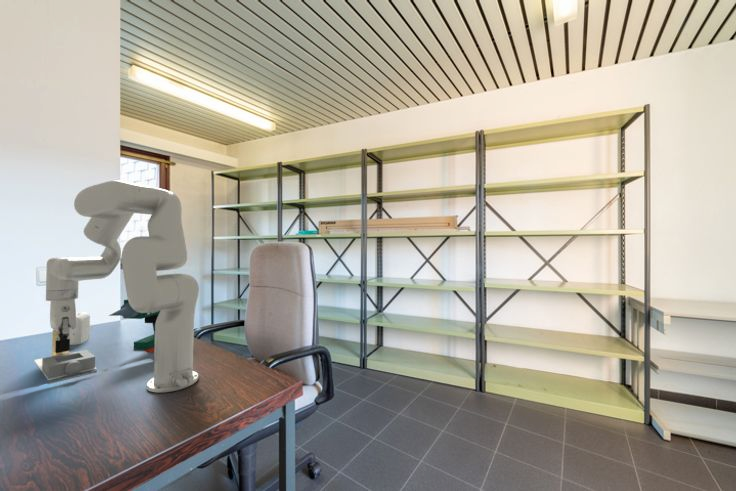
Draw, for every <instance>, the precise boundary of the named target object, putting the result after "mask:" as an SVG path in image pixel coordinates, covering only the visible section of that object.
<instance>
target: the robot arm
mask: <svg viewBox="0 0 736 491" xmlns="http://www.w3.org/2000/svg"><path fill="white" fill-rule="evenodd" d="M74 198H75V199H74V201H73V202H74V203H73V204H74V205H73V206H74V210H75V212H76V213H78V214H79V215H80V216H82V217H88V218H89V220H88V222H87V224H86V225H85V226H84V228H83V234H84V236H85V237H86V238H87V239H88V240H90V241H92V242H94V243H95V244H97V245H100V246H103V247H105V248H104V250H103V252H102V253H101V255H99V256H86V257H85V256H84V257H83V256H82V257H65V256H64V257H52V258H49V259H47V261H46V279H45V301H46V302H50V306H49V308H50V309H49V326H50V328H51V329H52V331H53V330H55V331H57V340H56V347H55V352H56V353H60V352H65V351H69V352H70V346H71V345H70V335H69V327H71V328H72V329H75V328H76V314H77V312H76V310H77V309H76V300H77V299H78V298H79V282H80V281H81V282H82V281H88V280H90V281H91V280H101V279H105V278H107V277H109V276H110V275H111V274H112V273H113V272H114V270H115V269H116V267H117V266H118V265H119V263H120V261H121V266H122V273H123V274H122V275H123V279H124V286H125V291H126V298H127V299H128V301H129V304H130V306H131V307H132V308H133V309H134V310H135V311H137V312H140V313H149V312H154V311H159V310H161V311H160V313H159V315H158V317H157V320H156V324H155V348H154V351H153V352H154V354H153V356H154V357H153V377H152V378H150V380H148V382H147V383H146V389H147V391H149V392H152V393H156V394H157V393H158V394H159V393H161V394H162V393H170V392H175V391H180V390H183V389H185V388H188V387H190V386H192V385H195V384H196V382H197V381H199V373H198V372H197V371H195V370H193V369H194V337H195V331H194V330H195V314H196V312H195V311H196V305H197V302H198V297H199V292H200V291H199V290H200V287H199V282H198V281H197V280H196V278H195V277H194V276H192V275H189V274H188V273H187V274H186V273H168V274H160V275H158V274H157V272H159V271H171V270H178V269H180V268H182V267H184V266H185V265H186V264H187V260H188V253H187V252H188V251H187V245H186V240H185V239H186V238H185V233H184V227H183V221H182V203H181V200H180V199H179V197H178V196H177V194H176V193H174V192H172V191H170V190H167V189H164V188H159V187H155V186H150V185H144V184H138V183H133V182H129V181H124V180H109V181H104V182H101V183H97V184H94V185H90V186H87V187H85V188H84V189H83V188H82V190H80V191H79V192H78V194H77V195H76V197H74ZM134 214H142V215H150V217H149V219H148V221H147V231H148V232H147V233H148V236H144V235H141V236H135V237H132V238H130V239H129V240H127V241H126V243H125V244H124V246H123V248H122V249H121V246H120V243H119V241H118V239H119V238H120V236H121V234H122V232H123V231H124V230H125V228H126V227H127V225H128V223H129V222H130V221H131V219H132V217H133V216H134ZM61 328H62V330H60V329H61ZM60 332H62V333H61V334H60Z"/></svg>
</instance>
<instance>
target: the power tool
mask: <svg viewBox="0 0 736 491" xmlns="http://www.w3.org/2000/svg"><path fill="white" fill-rule="evenodd" d="M160 311H161V310H159V311H154V312H149V313H140V312H137V311H135V310H134V309H133V308H132V307H131V306H130V304H129V301H128V298H127V299H124V300H123V304H122V305H121V306H120V309H119V310H117V311H115V312H113V313H111V314H109V315H108V316H109V317H110V316H113V317H115V316H117V317H118V316H122V317H123V319H128V320H129V319H131V320H132V319H134V320H142V319H144V324H152V328H153V333H152V334H151V335H148V336H146V337H144V338H141V339H138V340H135V341H134V342H133V349H134V350H143V351H144V352H146V353H147V354H149V353H152V352H154V348H155V324H156V320H157V317H158V315H159V313H160Z"/></svg>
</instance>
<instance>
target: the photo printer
mask: <svg viewBox="0 0 736 491" xmlns="http://www.w3.org/2000/svg"><path fill="white" fill-rule="evenodd" d="M90 326H91V316H90V313H88V312H87V311H80V312H76V328H75V329H72V328H71V327H69V328H70V346H75V345H81V344H84V343H85V342H87V341H89V340H90V334H91V333H90V330H91V329H90V328H91V327H90Z"/></svg>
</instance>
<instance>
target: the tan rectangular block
mask: <svg viewBox="0 0 736 491" xmlns="http://www.w3.org/2000/svg"><path fill="white" fill-rule="evenodd" d="M60 330H62V328H61V329H60ZM61 333H62V332H60V334H61ZM69 335H70V328H69ZM51 340H52V342H51V343H52V344H51V345H52V346H51V347H52V348H51V357H52V356H57V355H62V354H67V353H70V350H69V351H65V352H60V353H56V352H55V347H56V340H57V331H55V330H53V329H52V339H51Z"/></svg>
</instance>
